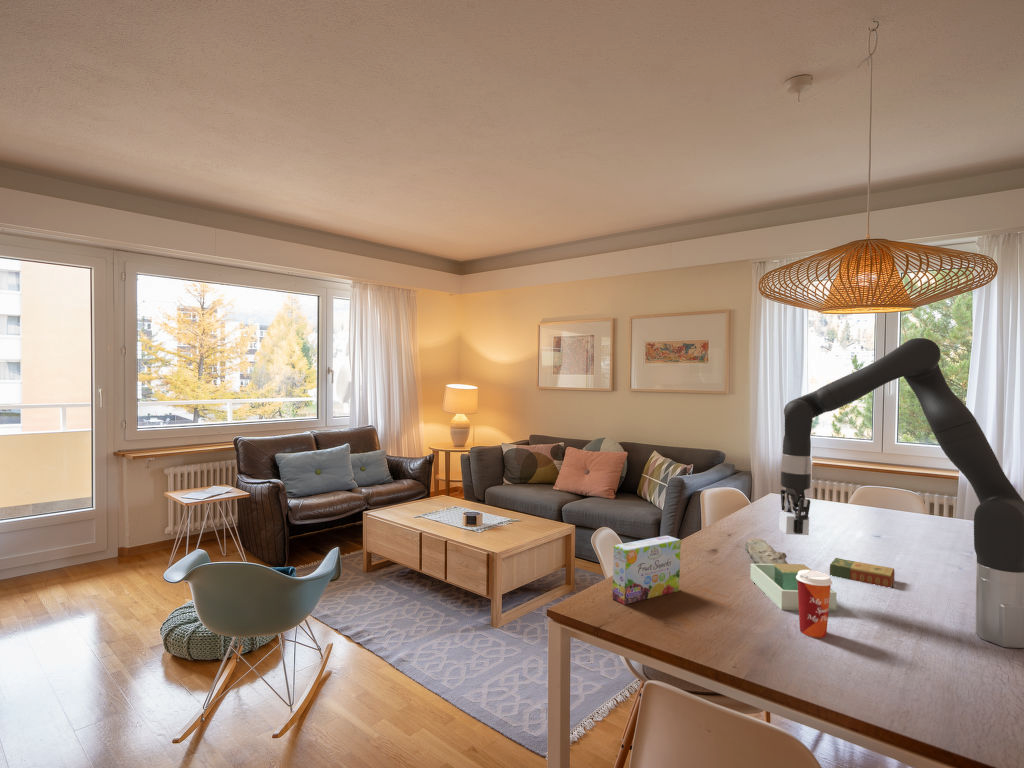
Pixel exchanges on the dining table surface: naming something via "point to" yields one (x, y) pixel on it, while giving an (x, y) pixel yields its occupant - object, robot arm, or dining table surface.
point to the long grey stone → (764, 552)
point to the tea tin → (788, 575)
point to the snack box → (646, 569)
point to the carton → (862, 572)
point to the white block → (791, 524)
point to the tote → (782, 598)
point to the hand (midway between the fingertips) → (793, 530)
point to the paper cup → (813, 602)
